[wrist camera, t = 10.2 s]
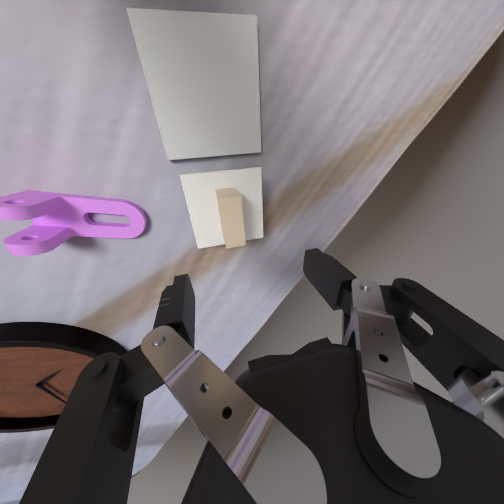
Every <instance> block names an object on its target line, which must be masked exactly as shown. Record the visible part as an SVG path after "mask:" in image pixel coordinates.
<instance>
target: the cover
mask: <svg viewBox="0 0 504 504" xmlns="http://www.w3.org/2000/svg"><path fill="white" fill-rule="evenodd" d="M180 178H181V182H182V186H183V190H184V194H185V198H186V202H187V206H188V210H189V214H190V218H191V222H192V226H193V230H194V234H195V238H196V242H197V246H198V249H199V248H205V247H211V246H217V245H223V244H225V245H226V249H227V248H233V247H238V246H244V245H246V242H245V241H246V240H252V239H258V238H263V207H262V174H261V167H254V168H244V169H233V170H223V171H212V172H202V173H192V174H181V175H180Z"/></svg>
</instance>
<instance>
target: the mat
mask: <svg viewBox="0 0 504 504" xmlns="http://www.w3.org/2000/svg"><path fill="white" fill-rule="evenodd" d="M126 10H127V14H128V17H129V21H130V25H131V28H132V32H133V36H134V39H135V43H136V46H137V50H138V54H139V57H140V61H141V65H142V68H143V72H144V75H145V79H146V83H147V86H148V90H149V94H150V97H151V101H152V104H153V108H154V112H155V115H156V119H157V123H158V126H159V130H160V133H161V137H162V141H163V144H164V148H165V152H166V155H167V159H168V160H176V159H188V158H199V157H211V156H223V155H234V154H246V153H258V152H261V125H260V94H259V63H258V32H257V15H245V14H228V13H211V12H194V11H177V10H159V9H142V8H126Z"/></svg>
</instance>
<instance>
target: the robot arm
mask: <svg viewBox="0 0 504 504" xmlns="http://www.w3.org/2000/svg"><path fill="white" fill-rule="evenodd" d="M303 271H304V274H305V276H306V277H307V279H308V280H309V281H310V282H311V283H312V285H313V286H314V287H315V288H316V289H317V291H318V292H319V293H320V294H321V296H322V297H323V298H324V299H325V300H326V302H327V303H328V304H329V305H330V306H331V308H332V309H333V310H338V309H342V310H343V313H342V345H340V344H332V343H331V342H330V340H329V339H328V338H324V339H320V340H317V341H314V342H310V343H308V344H307V345H305V346H304V347H302V348H301V349H299V350H298V351H296V352H295V353H293V354H290V355H268V356H264V357H261V358H258V359H254V360H251V361H248V365H249V369H247V370H246V371H244V372H243V373H242V374H241V375H240V376H239V377H238V378H237V379H236V380H235V382H233V381H232V380H231V379H230V378H229V377H228V376H227V375H226V374H225V373H224V372H223V371H222V370H221V369H220V368H219V367H217V366H216V365H215V364H214V363H213V362H212V361H211V360H210V359H209V358H208V357H207V356H206V355H205V354H204V353H203V352H201V351H200V350H197V351H196V350H194V335H195V295H194V291H193V288H192V285H191V282H190V278H189V276H188V274H183V275H178V276H175V277H174V282H173V285H170V286H167V287H166V288H165V290H164V291H163V292H162V295H161V299H160V303H159V307H158V311H157V315H156V319H155V323H154V327H153V330H151V331H150V332H149V333H148V334H147V335H146V336H145V337H144V339H143V341H142V343H141V345H139V346H137V347H136V348H134V349H132V350H130V351H128V352H126V353H124V354H122V355H121V356H119V355H118V354H117V353H114V352H108V353H104V354H102V355H100V356H98V357H96V358H95V359H93V360H92V361H91V362H89V363H88V364H87V365H86V366H85V367H84V369H83V370H82V371H81V373H80V374H79V376H78V378H77V380H76V383H75V385H74V387H73V389H72V391H71V393H70V395H69V398H68V400H67V402H66V404H65V406H64V408H63V411H62V413H61V415H60V417H59V419H58V421H57V423H56V426H55V428H54V430H53V432H52V434H51V436H50V439H49V441H48V443H47V445H46V447H45V449H44V451H43V454H42V456H41V458H40V460H39V462H38V464H37V466H36V469H35V471H34V473H33V475H32V477H31V479H30V482H29V484H28V486H27V488H26V490H25V492H24V494H23V497H22V499H21V501H20V503H19V504H127V499H128V493H129V487H130V480H131V475H132V469H133V462H134V456H135V450H136V444H137V438H138V432H139V426H140V420H141V414H142V407H143V401H144V397H145V396H146V395H148V394H150V393H151V392H153V391H154V390H156V389H157V388H159V387H160V386H162V385H163V384H165V385H166V386H167V387H168V389H169V390H170V391H171V393H172V394H173V395H174V397H175V398H176V399H177V401H178V402H179V404H180V405H181V406H182V408H183V409H184V410H185V412H186V413H187V414H188V416H189V417H190V419H191V420H192V421H193V423H194V424H195V425H196V427H197V428H198V429H199V431H200V432H201V434H202V435H203V436H204V437H205V439H206V440H207V443H206V446H205V448H204V451H203V453H202V455H201V458H200V460H199V463H198V465H197V467H196V470H195V472H194V474H193V477H192V479H191V482H190V484H189V486H188V489H187V491H186V494H185V496H184V498H183V501H182V503H181V504H504V340H502V339H501V338H499V337H498V336H496V335H495V334H493V333H492V332H490V331H489V330H488V329H486V328H485V327H483V326H482V325H480V324H478V323H477V322H475V321H474V320H473V319H471V318H469V317H468V316H467V315H465V314H464V313H462V312H461V311H459V310H458V309H456V308H454V307H453V306H452V305H450V304H448V303H447V302H446V301H444V300H443V299H441V298H440V297H438V296H436V295H435V294H434V293H432V292H431V291H429V290H428V289H426V288H425V287H423V286H422V285H420V284H419V283H417V282H415V281H413V280H410V279H405V278H397V279H395V280H394V281H393V283H392V286H386V285H384V286H383V285H378V284H377V283H375V282H374V281H372V280H369V279H366V278H357V277H356V276H355V275H354V274H353V273H351V272H350V271H349V270H348V269H347V268H345V267H344V266H342V264H340V263H339V262H338V261H337V260H336V259H334V258H333V257H332V256H330V255H327V254H324V253H322V252H321V251H320V250H319V249H318V248H314V249H309V250H306V251H305V256H304V265H303ZM414 312H415V313H416V314H417V315H418V316H420V317H421V318H422V319H423V320H424V321H425V322H427V323H428V324H429V325H430V326H431V328H432V329H433V335H432V336H431V335H430V334H429V333H428V332H427V331H426V330H425V329H423V328H422V327H421V326H420V325H419V324H417V323H416V322H415V321H414V320H413V319H412V318H411V316H412V314H413V313H414ZM402 344H403V345H404V346H405V347H406V348H407V349H408V350H409V351H410V352H411V353H412V354H413V355H414V356H415V357H416V358H417V359H418V360H419V362H420V363H422V365H423V366H424V367H425V368H426V369H427V370H428V371H429V372H430V373H431V374H432V375H433V376H434V377H435V378H436V379H437V380H438V381H439V382H440V383H441V384H442V386H444V388H446V390H447V391H448V393H449V395H450V397H451V399H452V400H453V402H452V403H451V402H450V401H448V400H446V399H444V398H442V397H440V396H439V395H437V394H435V393H433V392H431V391H430V390H428V389H426V388H424V387H422V386H420V385H419V384H417V383H415V382H413V380H412V377H411V373H410V370H409V367H408V363H407V360H406V356H405V353H404V350H403V346H402Z"/></svg>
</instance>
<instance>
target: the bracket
mask: <svg viewBox="0 0 504 504" xmlns="http://www.w3.org/2000/svg"><path fill="white" fill-rule="evenodd" d="M88 212H91V213H104V214H117V215H125V216H127V217H128V218H129V219H130V224H119V223H103V222H94V221H92V220H91V219H90V218H89V217H88ZM27 219H31V220H32V222H33V226H30V227H28V228H26V229H24V230H22V231H20V232H18V233H15V234H13V235H11V236H9V237H7V238H5V239H4V243H5V244H6V246H7V248H8V250H9V252H10V254H12V255H16V256H31V255H38V254H42V253H46V252H49V251H51V250H53V249H55V248H56V247H58V246H59V245H60V244H62V243H63V242H65V241H66V240H68V239H69V238H71V237H75V236H79V237H102V238H125V239H128V238H134V237H137V236H138V235H140V234H141V233H142V232H143V230H144V229H145V227H146V224H147V218H146V215H145V213H144V211H143V210H142V209H141V208H140V207H139V206H138V205H136V204H135V203H133V202H131V201H128V200H122V199H112V198H102V197H91V196H81V195H71V194H61V193H51V192H41V191H31V190H27V191H23V192H19V193H15V194H11V195H7V196H3V197H0V220H8V221H13V220H27Z"/></svg>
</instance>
